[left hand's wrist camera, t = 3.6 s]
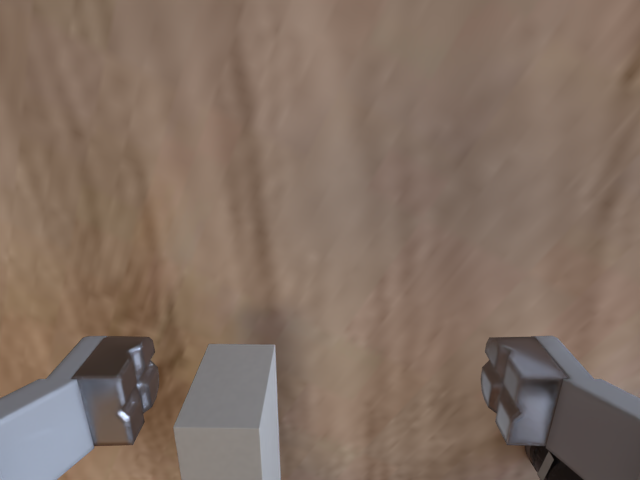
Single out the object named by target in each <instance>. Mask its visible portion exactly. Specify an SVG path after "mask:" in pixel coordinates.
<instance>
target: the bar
mask: <svg viewBox="0 0 640 480" xmlns="http://www.w3.org/2000/svg"><path fill="white" fill-rule="evenodd" d="M173 429H174V435H175V442H176V448H177V454H178V460H179V467H180V473H181V479H182V480H281V476H280V451H279V427H278V403H277V378H276V354H275V345H260V344H209V345H208V347H207V349H206V352H205V354H204V356H203V359H202V361H201V364H200V366H199V368H198V371H197V373H196V375H195V378H194V380H193V382H192V385H191V387H190V389H189V392H188V394H187V396H186V399H185V401H184V403H183V406H182V408H181V410H180V413H179V415H178V418H177V420H176V422H175V425H174V427H173Z"/></svg>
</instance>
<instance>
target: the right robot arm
mask: <svg viewBox="0 0 640 480" xmlns="http://www.w3.org/2000/svg"><path fill="white" fill-rule="evenodd" d="M525 450H526V454H527V456H528V458H529V460H530V461H531V463H532V465H533V466H534V468H535V470H536V471H537V473H538V476H539V478H540V480H584V479H582V478H581V477H580V476H579V475H578V474H576V473H575V472H574V471H573V470H572V469H570V468H569V467H568V466H567V465H566V464H564V463H563V462H562V461H561V460H560V459H558V458H557V457H556V456H555V455H554V454H552V453H551V452H550V451H549V450H548V449H546V446H527V445H525Z"/></svg>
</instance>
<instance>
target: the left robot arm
mask: <svg viewBox="0 0 640 480" xmlns="http://www.w3.org/2000/svg"><path fill="white" fill-rule="evenodd" d="M154 353H155V349H154V344H153V340H152V339H151V338H150V337H129V336H87V337H84V338H82V339H81V340H80V342H79V343H78V344H77V345H76V346H75V347H74V348H73V349H72V350H71V352H70V353H69V354H68V355H67V356H66V357H65V358H64V359H63V360H62V362H61V363H60V364H59V365H58V366H57V367H56V368H55V369H54V371H53V372H52V373H51V374H50V375H49V376H48V377H47V378H46V379H38V380H36V381H34V382H32V383H30V384H28V385H26V386H24V387H22V388H20V389H18V390H16V391H14V392H12V393H10V394H8V395H6V396H4V397H2V398H0V480H57V479H58V478H59V477H60V476H61V475H63V474H64V473H65V472H66V471H67V470H69V469H70V468H71V467H72V466H73V465H75V464H76V463H77V462H78V461H79V460H81V459H82V458H83V457H84V456H85V455H87V454H88V453H89V452H90V451H91V450H93V449H94V446H112V445H133V444H134V442H135V440H136V438H137V436H138V434H139V432H140V430H141V428H142V426H143V424H144V422H145V421H144V416H143V413H144V412H146V411H147V410H149V409H150V408H152V406H153V404H154V402H155V400H156V397H157V392H158V388H159V372H158V367H157V366H156V365H155V364H154V363H153V362H152V361H151V358H152V356H153V355H154ZM485 353H486V355H487V356H488V358H489V361H488V362H487V363H486V364H485V365H484V366H483V367H482V373H481V388H482V393H483V397H484V400H485V402H486V404H487V406H488V407H489V408H490V409H491V410H493V411H494V412H496V413H497V416H496V421H495V422H496V424H497V426H498V428H499V430H500V432H501V434H502V436H503V438H504V440H505V442H506V444H507V445H527V446H546V449H548V450H549V451H550V452H551V453H552V454H554V455H555V456H556V457H557V458H558V459H560V460H561V461H562V462H563V463H564V464H566V465H567V466H568V467H569V468H570V469H572V470H573V471H574V472H575V473H576V474H578V475H579V476H580V477H581V478H582V479H584V480H640V398H638V397H636V396H634V395H632V394H630V393H628V392H626V391H624V390H622V389H620V388H618V387H616V386H614V385H612V384H610V383H608V382H606V381H604V380H602V379H594V378H593V377H592V376H591V375H590V374H589V373H588V372H587V371H586V369H585V368H584V367H583V366H582V365H581V364H580V363H579V362H578V360H577V359H576V358H575V357H574V356H573V355H572V354H571V353H570V352H569V350H568V349H567V348H566V347H565V346H564V345H563V344H562V343H561V342H560V340H559V339H558V338H556V337H554V336H531V337H489V339H488V341H487V343H486V349H485Z"/></svg>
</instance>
